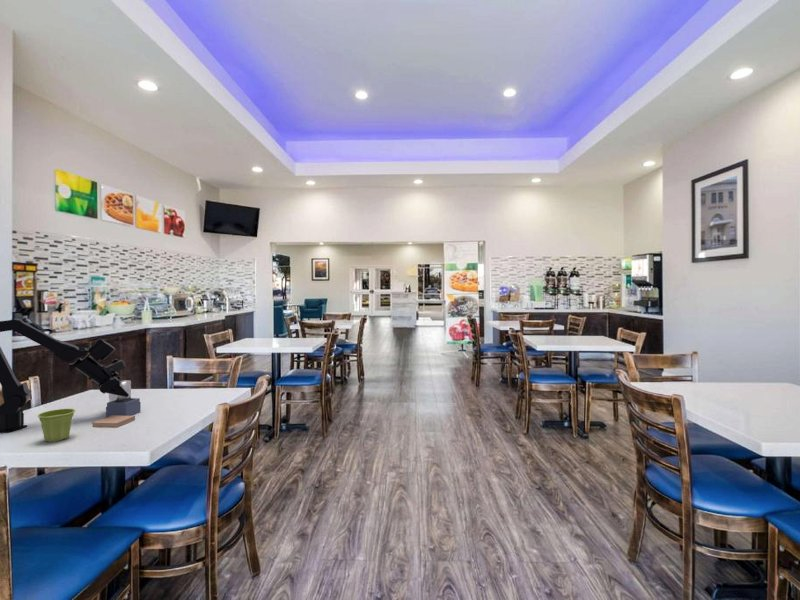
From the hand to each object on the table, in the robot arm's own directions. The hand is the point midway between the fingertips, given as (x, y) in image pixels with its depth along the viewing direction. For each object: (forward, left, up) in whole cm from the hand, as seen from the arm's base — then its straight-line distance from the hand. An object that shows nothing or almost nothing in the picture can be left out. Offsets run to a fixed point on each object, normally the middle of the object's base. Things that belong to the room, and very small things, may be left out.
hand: (127, 394), depth 161 cm
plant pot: (-29, +2, -8) cm, 30 cm away
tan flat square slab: (-12, -4, -8) cm, 15 cm away
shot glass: (+10, +12, -8) cm, 18 cm away
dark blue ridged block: (-1, +1, -8) cm, 8 cm away
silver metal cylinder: (-1, +1, -4) cm, 4 cm away
